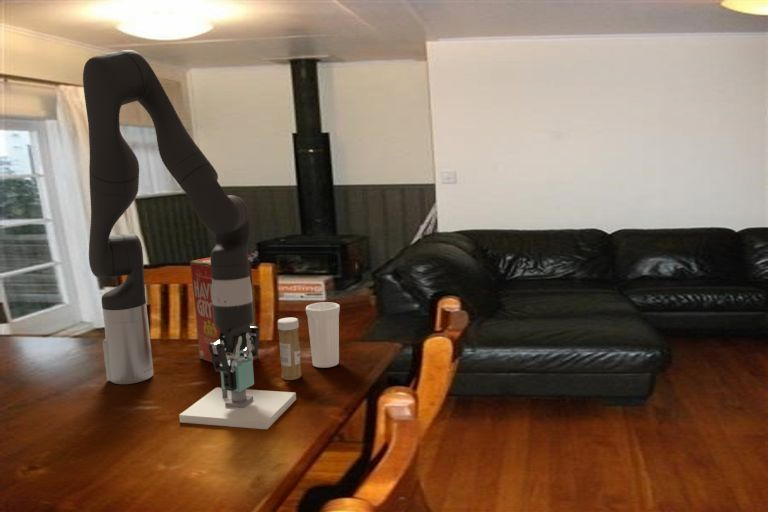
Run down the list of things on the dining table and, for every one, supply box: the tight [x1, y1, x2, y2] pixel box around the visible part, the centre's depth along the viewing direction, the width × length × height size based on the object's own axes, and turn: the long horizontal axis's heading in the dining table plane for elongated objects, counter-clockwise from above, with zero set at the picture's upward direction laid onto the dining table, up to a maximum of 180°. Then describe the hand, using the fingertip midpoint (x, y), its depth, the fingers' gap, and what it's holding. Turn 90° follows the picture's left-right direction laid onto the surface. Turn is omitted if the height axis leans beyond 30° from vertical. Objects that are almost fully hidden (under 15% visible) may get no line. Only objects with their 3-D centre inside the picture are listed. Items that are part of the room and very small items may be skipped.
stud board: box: [178, 386, 297, 430], centre depth 122 cm, size 18×14×5 cm
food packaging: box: [189, 256, 259, 364], centre depth 153 cm, size 13×9×25 cm
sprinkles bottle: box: [277, 317, 302, 381], centre depth 139 cm, size 5×5×13 cm
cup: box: [305, 301, 341, 369], centre depth 146 cm, size 8×8×14 cm
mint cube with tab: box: [220, 356, 255, 392], centre depth 121 cm, size 4×4×6 cm
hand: (238, 384), depth 122 cm, fingers closed on mint cube with tab, 4 cm apart
